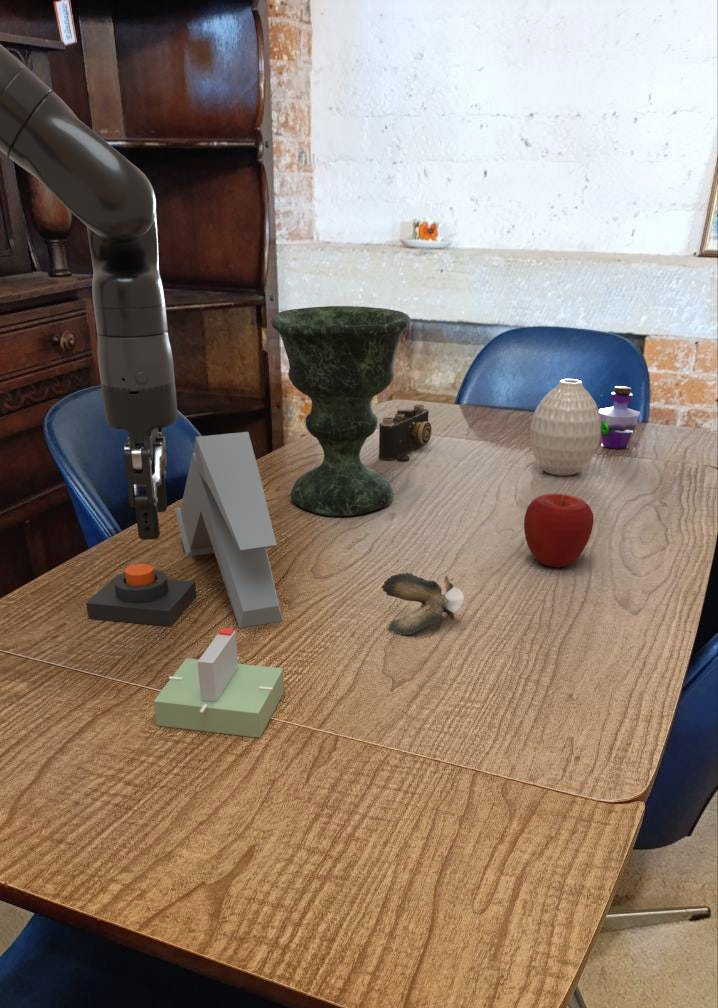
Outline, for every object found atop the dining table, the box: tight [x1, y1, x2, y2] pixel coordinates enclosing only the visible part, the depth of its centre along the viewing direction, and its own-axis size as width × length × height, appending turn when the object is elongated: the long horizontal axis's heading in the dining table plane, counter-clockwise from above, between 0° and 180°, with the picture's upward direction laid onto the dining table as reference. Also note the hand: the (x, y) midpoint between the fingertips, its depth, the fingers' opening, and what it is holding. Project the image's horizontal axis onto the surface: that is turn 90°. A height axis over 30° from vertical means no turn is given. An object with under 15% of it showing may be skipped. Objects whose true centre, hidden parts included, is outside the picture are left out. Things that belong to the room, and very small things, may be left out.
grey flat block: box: [198, 627, 239, 702], centre depth 90 cm, size 7×2×5 cm, turn 168°
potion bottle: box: [598, 385, 641, 451], centre depth 178 cm, size 9×9×12 cm
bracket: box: [174, 431, 283, 629], centre depth 117 cm, size 8×27×25 cm
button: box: [124, 563, 155, 586], centre depth 111 cm, size 4×4×2 cm
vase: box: [529, 378, 602, 477], centre depth 162 cm, size 13×13×17 cm
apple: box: [523, 493, 595, 568], centre depth 125 cm, size 10×10×10 cm
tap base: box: [153, 656, 285, 739], centre depth 91 cm, size 11×11×3 cm
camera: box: [378, 404, 433, 462], centre depth 175 cm, size 16×7×8 cm, turn 148°
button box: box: [85, 569, 197, 627], centre depth 112 cm, size 11×9×4 cm
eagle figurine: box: [381, 572, 465, 636], centre depth 108 cm, size 8×7×9 cm
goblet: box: [270, 305, 412, 517], centre depth 144 cm, size 22×23×30 cm
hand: (153, 524), depth 99 cm, fingers open, 8 cm apart
